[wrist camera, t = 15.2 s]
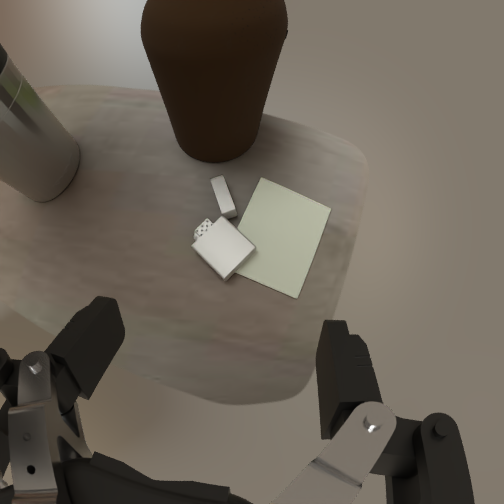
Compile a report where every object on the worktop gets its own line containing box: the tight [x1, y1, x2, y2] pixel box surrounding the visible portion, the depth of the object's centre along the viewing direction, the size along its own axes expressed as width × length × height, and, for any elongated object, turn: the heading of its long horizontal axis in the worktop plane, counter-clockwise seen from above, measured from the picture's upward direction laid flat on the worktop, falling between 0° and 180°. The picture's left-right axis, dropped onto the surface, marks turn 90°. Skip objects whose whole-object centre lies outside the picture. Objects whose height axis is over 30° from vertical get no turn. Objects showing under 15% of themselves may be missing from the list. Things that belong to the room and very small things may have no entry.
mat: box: [235, 177, 331, 299], centre depth 28 cm, size 8×10×1 cm
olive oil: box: [141, 0, 288, 162], centre depth 18 cm, size 11×11×25 cm
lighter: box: [191, 175, 256, 281], centre depth 27 cm, size 7×2×8 cm
